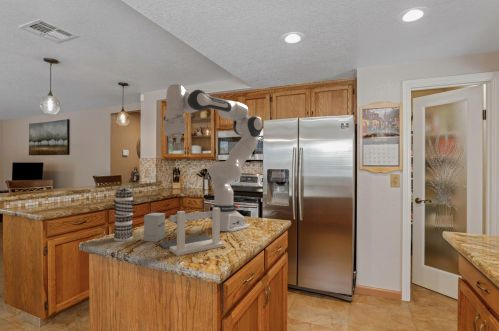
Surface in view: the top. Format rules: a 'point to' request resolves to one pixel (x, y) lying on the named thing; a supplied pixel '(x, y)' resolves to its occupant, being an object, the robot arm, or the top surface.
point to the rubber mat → (187, 240)
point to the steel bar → (193, 216)
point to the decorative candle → (123, 214)
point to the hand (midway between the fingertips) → (174, 143)
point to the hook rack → (200, 245)
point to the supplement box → (154, 227)
